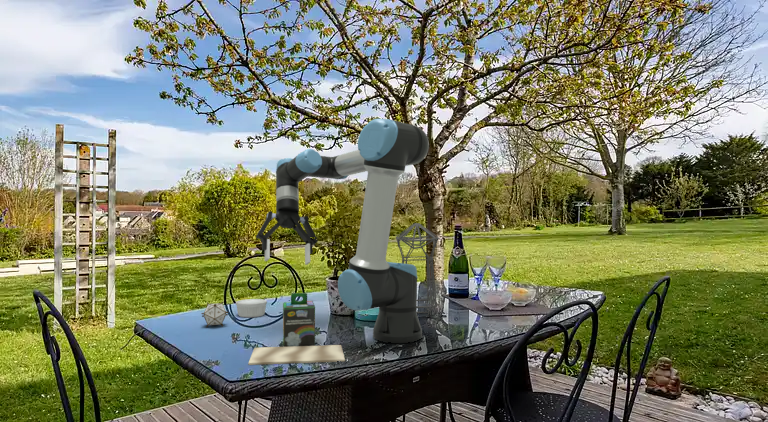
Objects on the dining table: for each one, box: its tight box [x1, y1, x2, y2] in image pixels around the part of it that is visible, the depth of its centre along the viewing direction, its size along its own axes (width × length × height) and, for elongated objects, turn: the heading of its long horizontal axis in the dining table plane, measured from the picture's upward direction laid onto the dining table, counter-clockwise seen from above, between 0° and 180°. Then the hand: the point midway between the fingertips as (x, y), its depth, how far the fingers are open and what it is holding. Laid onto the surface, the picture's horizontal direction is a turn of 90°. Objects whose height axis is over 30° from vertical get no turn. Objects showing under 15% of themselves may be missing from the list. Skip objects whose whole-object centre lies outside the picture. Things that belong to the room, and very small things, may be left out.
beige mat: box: [248, 344, 346, 366], centre depth 129 cm, size 24×14×1 cm, turn 99°
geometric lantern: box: [394, 222, 441, 316], centre depth 182 cm, size 16×16×35 cm
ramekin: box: [235, 298, 268, 319], centre depth 180 cm, size 11×11×5 cm
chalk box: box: [282, 292, 316, 347], centre depth 141 cm, size 9×9×15 cm
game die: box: [200, 301, 229, 328], centre depth 161 cm, size 9×8×10 cm
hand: (287, 261), depth 155 cm, fingers open, 13 cm apart
